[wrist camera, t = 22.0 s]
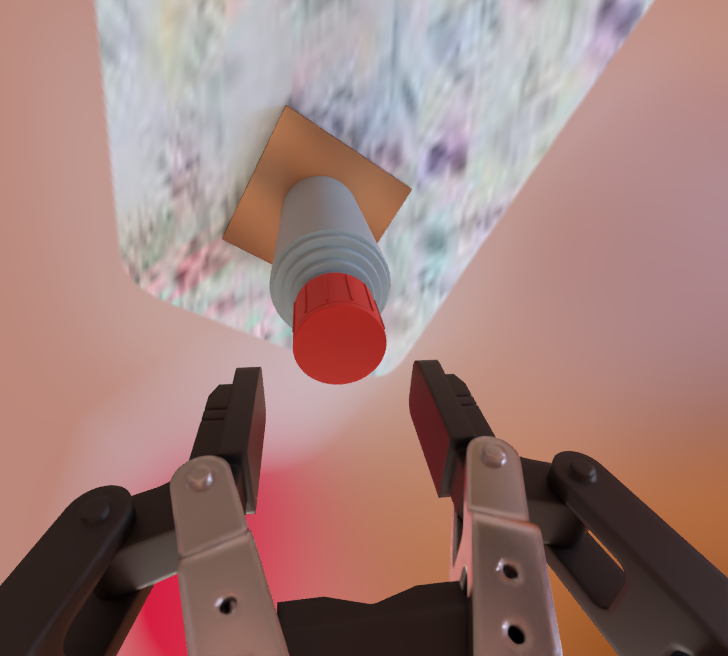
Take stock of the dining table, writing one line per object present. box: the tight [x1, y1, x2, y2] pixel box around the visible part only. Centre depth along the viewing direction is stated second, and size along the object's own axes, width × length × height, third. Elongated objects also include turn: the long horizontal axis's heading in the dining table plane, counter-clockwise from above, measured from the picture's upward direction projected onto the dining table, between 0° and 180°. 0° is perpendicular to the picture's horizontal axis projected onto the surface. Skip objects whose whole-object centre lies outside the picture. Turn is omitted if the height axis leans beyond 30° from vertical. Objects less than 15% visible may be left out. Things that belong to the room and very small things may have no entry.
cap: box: [292, 273, 386, 384], centre depth 17 cm, size 4×4×3 cm
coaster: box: [222, 105, 412, 265], centre depth 32 cm, size 11×11×1 cm
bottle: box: [270, 176, 391, 328], centre depth 24 cm, size 6×6×19 cm
